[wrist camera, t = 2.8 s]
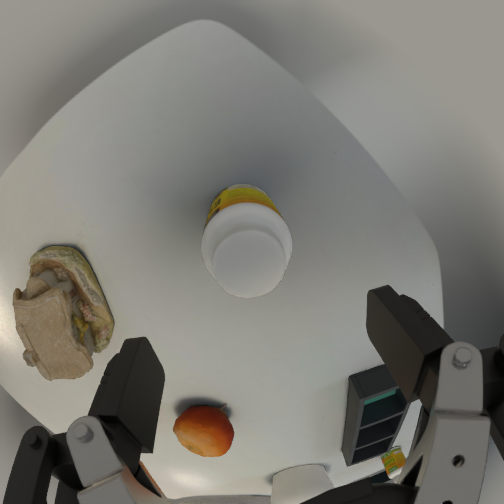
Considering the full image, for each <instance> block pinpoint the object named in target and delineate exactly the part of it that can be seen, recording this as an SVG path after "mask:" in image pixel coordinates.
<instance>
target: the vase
mask: <svg viewBox="0 0 504 504" xmlns="http://www.w3.org/2000/svg"><path fill="white" fill-rule="evenodd" d="M272 480H273V487H272V494H271V504H300V503H302V502H304V501H306V500H309V499H311V498H313V497H315V496H317V495H319V494H321V493H324V492H326V491H328V490H330V489H334V488H335V487H334V485H333V484H332V482H331V480H330V479H329V477H328V475H327V474H326V471H325V469H324V466H321V465H303V466H298V467H293V468H289V469H286V470H283V471H280V472H279V473H277V474H275V475H274V476H273V478H272Z"/></svg>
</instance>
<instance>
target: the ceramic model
mask: <svg viewBox="0 0 504 504" xmlns="http://www.w3.org/2000/svg"><path fill="white" fill-rule="evenodd" d="M29 265H30V266H31V269H30V279H29V280H28V282H27V288H26V289H25V290H24V291H23V292H21V290H20V289H19V288H16V289H15V291H14V294H13V304H12V305H13V307H14V312H15V320H16V325H17V326H16V330H17V332H18V334H19V336H20V339H21V340H22V342H23V344H24V347H25V348H26V350H25V351H24V353H23V358H24V360H25V361H26V362H27V365H28V366H31V367H34V366H36V367H37V369H38V371H39V372H40V374H41V375H42V376H43V377H44V378H45V379H47V380H50V381H52V380H54V379H76V378H79V377H82V376H83V375H84V374H85V373H86V372H89V370H90V369H92V367H93V360H92V358H91V356H92V354H93V352H95V353H100V352H101V351H102V350H103V349H106V348H107V345H108V343H109V340H110V338H111V336H112V332H113V328H114V321H113V318H112V315H111V313H110V310H109V308H108V305H107V303H106V300H105V298H104V296H103V293H102V291H101V288H100V286H99V284H98V282H97V279H96V277H95V275H94V273H93V271H92V269H91V267H90V266H89V264H88V262H87V261H86V260H85V258H84V257H83V256H82V255H81V254H80V252H78V251H77V250H75V249H73V248H71V247H64V246H50V247H47V248H45V249H43V250H41V251H39V250H38V251H37V252H36V253H35V254H34V255H33V256H32V257H31V259H30V263H29Z"/></svg>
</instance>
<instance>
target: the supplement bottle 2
mask: <svg viewBox="0 0 504 504" xmlns="http://www.w3.org/2000/svg"><path fill="white" fill-rule="evenodd" d="M381 459H382V462H383V464H384V467H385V469H386V472H387V475H388V477H389V478H391V479H394V480H393V482H394V483H397V481H398V478H399V476H400V473H401V471H402V468H403V466H404V464H405V462H406V459H405V457H404V454H403V452H402V450H401V448H400V447H394V448H391V449H390V451H389V452H387V453H385V454H382V455H381Z"/></svg>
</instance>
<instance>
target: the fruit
mask: <svg viewBox="0 0 504 504" xmlns="http://www.w3.org/2000/svg"><path fill="white" fill-rule="evenodd" d="M225 406H226V404H225V405H224V406H222V407H221V408H215V407H210V406H193V407H190V408H188V409H187V410H185V411H184V412H183V413H182V414H181V415H180V416H179V417H178V418H177V419H176V421H175V425H174V427H173V432H174V433H175V434H176V436H177V438H178V440H179V442H180V443H181V444H182V445H183V446H184V447H186V448H187V449H188V450H189V451H191V452H193V453H195V454H198V455H201V456H204V457H207V456H208V457H218V456H222V455H224V454H225V453H226V452H227V451H228V450H229V448H230V447H231V444H232V441H233V437H234V430H233V427H232V424H231V423H230V421H229V419H228V417H227V415H226V412H225V410H224V408H225Z"/></svg>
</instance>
